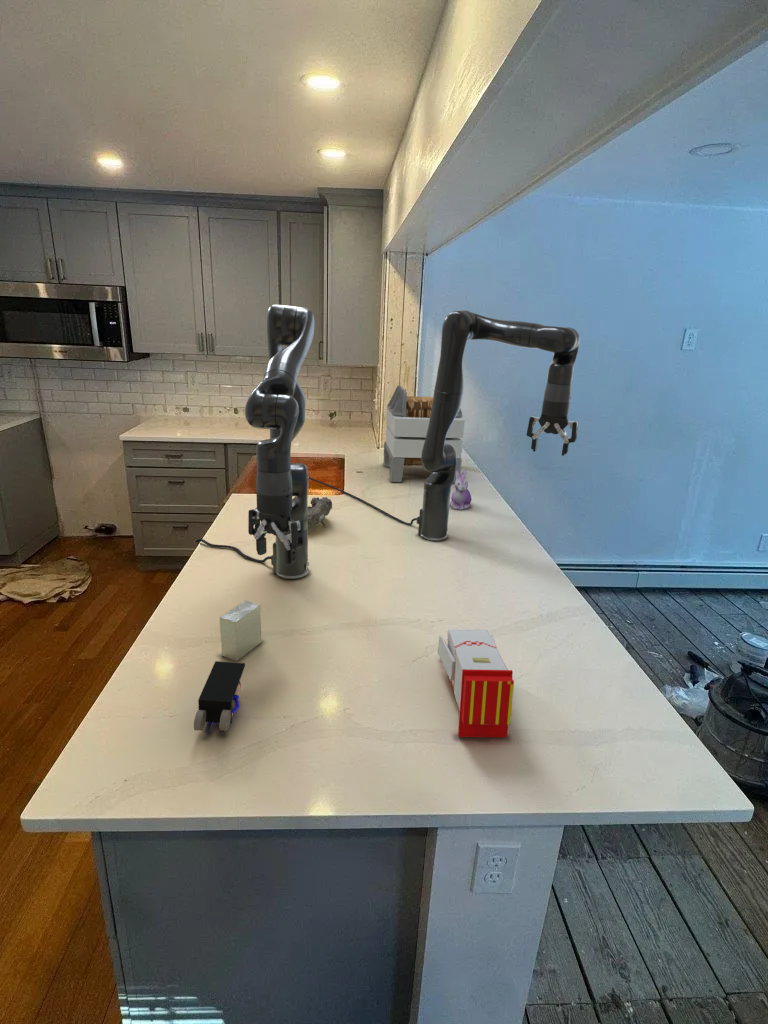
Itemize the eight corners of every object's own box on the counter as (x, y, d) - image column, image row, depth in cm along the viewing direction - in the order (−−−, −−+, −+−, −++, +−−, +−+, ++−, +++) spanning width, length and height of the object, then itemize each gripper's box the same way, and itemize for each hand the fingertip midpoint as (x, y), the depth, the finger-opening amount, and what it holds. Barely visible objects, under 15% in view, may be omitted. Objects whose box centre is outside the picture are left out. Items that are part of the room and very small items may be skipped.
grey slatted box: (382, 463, 289) (386, 382, 275) (445, 464, 293) (451, 384, 279) (390, 482, 257) (394, 392, 243) (460, 483, 261) (468, 394, 247)
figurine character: (231, 748, 102) (248, 688, 116) (228, 717, 99) (246, 659, 113) (194, 747, 102) (215, 687, 116) (189, 716, 99) (212, 658, 112)
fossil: (299, 502, 213) (329, 481, 208) (315, 521, 216) (345, 501, 211) (284, 530, 194) (317, 507, 189) (302, 550, 196) (335, 528, 191)
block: (221, 655, 127) (219, 617, 124) (247, 637, 134) (245, 600, 131) (237, 661, 125) (234, 622, 122) (261, 642, 133) (260, 604, 129)
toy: (488, 613, 130) (523, 677, 101) (484, 667, 133) (517, 744, 104) (435, 612, 130) (455, 676, 101) (432, 666, 133) (451, 743, 103)
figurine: (458, 511, 224) (461, 475, 219) (444, 503, 233) (446, 468, 228) (477, 508, 228) (481, 473, 223) (462, 501, 237) (466, 466, 232)
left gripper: (237, 486, 121) (240, 556, 126) (287, 500, 114) (288, 573, 119) (262, 479, 127) (264, 546, 132) (311, 491, 120) (311, 561, 125)
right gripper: (529, 398, 165) (522, 452, 171) (580, 403, 159) (571, 459, 165) (534, 395, 171) (528, 447, 177) (583, 400, 166) (575, 454, 171)
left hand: (276, 559), depth 126 cm, fingers open, 8 cm apart
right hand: (548, 453), depth 171 cm, fingers open, 8 cm apart
